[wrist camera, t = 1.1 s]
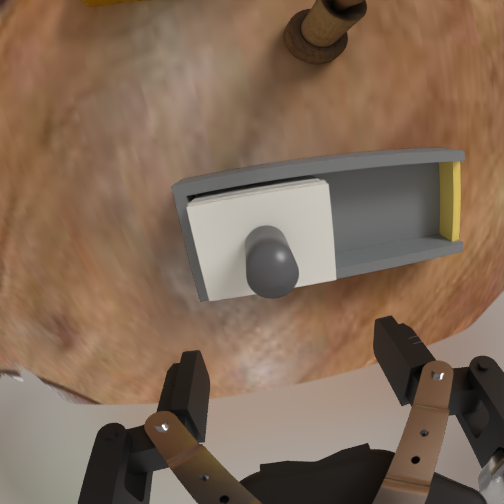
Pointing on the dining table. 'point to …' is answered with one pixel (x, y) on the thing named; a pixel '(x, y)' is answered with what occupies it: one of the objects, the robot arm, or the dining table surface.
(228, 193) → the white plate with knob
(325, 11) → the brown wooden tall piece
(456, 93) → the dining table surface
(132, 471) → the robot arm
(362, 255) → the bay
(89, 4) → the element tile
